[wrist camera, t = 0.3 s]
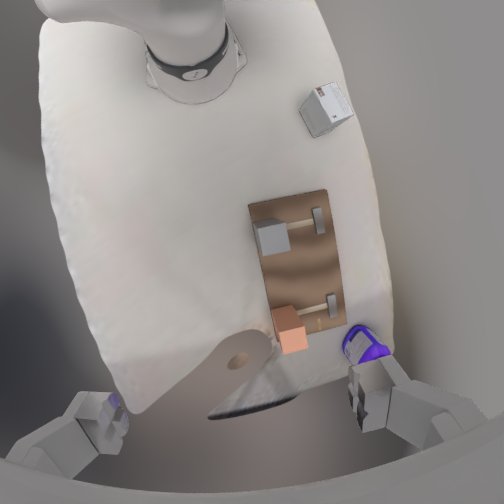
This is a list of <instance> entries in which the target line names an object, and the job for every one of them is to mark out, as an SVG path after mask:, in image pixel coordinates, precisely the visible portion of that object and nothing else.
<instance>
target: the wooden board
mask: <svg viewBox="0 0 504 504" xmlns="http://www.w3.org/2000/svg"><path fill="white" fill-rule="evenodd" d="M248 206H249V211H250V215H251V220H252V225H253V222H258V221H262V220H267V219H272V218H277V219H279V220H281V221H283V222H285V223H286V228H287V233H288V238H289V243H290V248H291V250H290V251H286V252H281V253H277V254H272V255H268V256H264V257H263V255H262V253H261V251H260V249H259V247H258V246H257V248H258V253H259V258H260V262H261V267H262V272H263V277H264V281H265V286H266V291H267V295H268V300H269V305H270V310H271V309H275V308H280V307H284V306H288V305H293V307H294V308H295V310H296V312H297V314H298V315H299V317H300V319H301V321H302V323H303V324H304V326H305V332H306V335H308V334H312V333H316V332H320V331H323V330H327V329H331V328H334V327H338V326H341V325H345V324H347V320H346V311H345V302H344V294H343V286H342V279H341V272H340V265H339V258H338V251H337V245H336V239H335V232H334V227H333V221H332V215H331V209H330V204H329V199H328V193H327V190H320V191H315V192H310V193H305V194H299V195H294V196H289V197H284V198H279V199H274V200H270V201H265V202H260V203H255V204H251V205H248ZM253 229H254V227H253ZM254 234H255V232H254ZM255 239H256V236H255ZM256 244H257V241H256ZM271 315H272V312H271ZM272 319H273V317H272ZM273 324H274V322H273ZM274 329H275V327H274ZM275 334H276V338H277V342H279V340H278V337H277V333H276V330H275Z"/></svg>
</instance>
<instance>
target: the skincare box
mask: <svg viewBox="0 0 504 504" xmlns="http://www.w3.org/2000/svg"><path fill="white" fill-rule="evenodd" d="M299 112H300V113H301V115H302V117H303V119H304V121H305V123H306V125H307V127H308V129H309V130H310V132H311V134H312V136H313V138H315V137H318V136H320V135H322V134H325V133H327V132H329V131H332V130H333V129H334V128H336V127H337V126H338V125H340V124H341V123H343V122H344V121H346V120H347V119H348V118H350V117H351V116H353V115H354V114H353V112H352V110H351V108H350V106H349V105H348V103H347V101H346V99H345V97H344V96H343V94H342V92H341V90H340V89H339V87H338V85H337V83H336V82H332V83H329V84H327V85H324V86H321V87H318V88H316V89H313V91H312V92H311V94H310V95H309V97H308V98H307V99H306V101H305V102H304V104H303V105H302V107H301V108H300V110H299Z"/></svg>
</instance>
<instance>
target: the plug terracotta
mask: <svg viewBox="0 0 504 504" xmlns="http://www.w3.org/2000/svg"><path fill="white" fill-rule="evenodd" d="M271 312H272V317H273V322H274V327H275V330H276V333H277V337H278V340H279V343H280V346H281V349H282V352H283V354H287V353H291V352H295V351H299V350H303V349H307V348H308V345H307V338H306V332H305V326H304V324H303V323H302V321H301V319H300V317H299V315H298V314H297V312H296V310H295V308H294V307H293V305H288V306H284V307H280V308H275V309H271Z"/></svg>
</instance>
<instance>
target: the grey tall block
mask: <svg viewBox="0 0 504 504" xmlns="http://www.w3.org/2000/svg"><path fill="white" fill-rule="evenodd" d="M253 227H254V232H255V236H256V241H257V246H258V247H259V249H260V251H261V253H262V255H263V257H264V256H268V255H272V254H277V253H281V252H286V251H290V250H291V248H290V243H289V238H288V233H287V228H286V223H285V222H283V221H281V220H279V219H277V218H272V219H267V220H262V221H258V222H253Z"/></svg>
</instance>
